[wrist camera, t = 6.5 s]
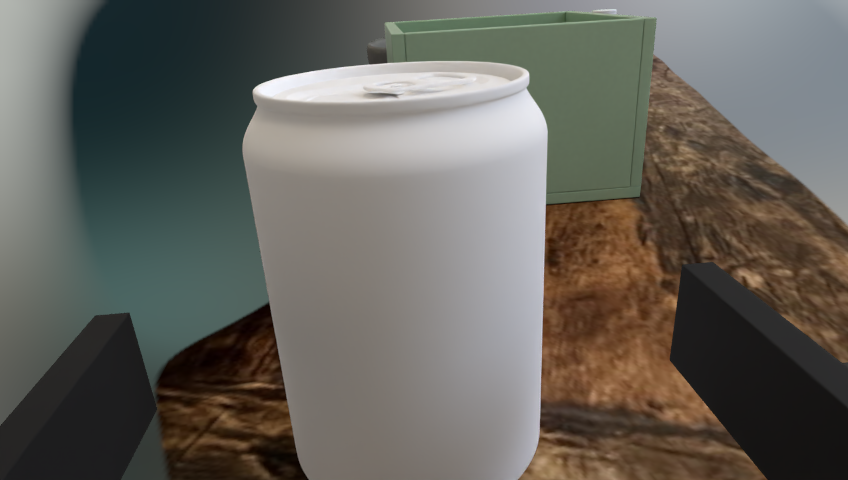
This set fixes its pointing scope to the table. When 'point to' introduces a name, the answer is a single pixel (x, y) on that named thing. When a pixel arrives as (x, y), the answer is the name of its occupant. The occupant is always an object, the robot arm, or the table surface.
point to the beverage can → (404, 265)
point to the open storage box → (561, 86)
